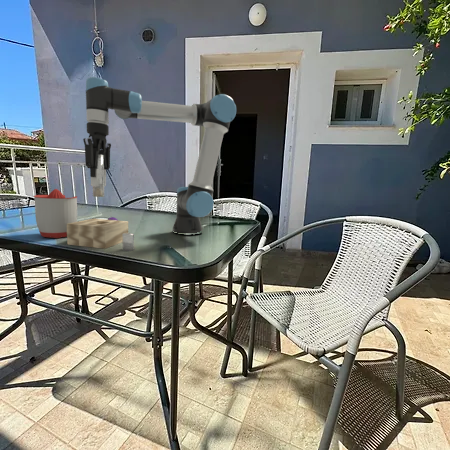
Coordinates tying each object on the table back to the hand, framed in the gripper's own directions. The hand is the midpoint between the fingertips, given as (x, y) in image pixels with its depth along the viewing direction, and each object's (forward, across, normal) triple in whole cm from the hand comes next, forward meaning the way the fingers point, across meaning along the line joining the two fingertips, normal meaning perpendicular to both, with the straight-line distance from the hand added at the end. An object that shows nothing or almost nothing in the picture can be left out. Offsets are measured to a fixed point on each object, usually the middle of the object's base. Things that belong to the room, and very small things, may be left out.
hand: (98, 185), depth 105 cm
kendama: (+23, -21, -12) cm, 33 cm away
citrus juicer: (+23, -4, -22) cm, 32 cm away
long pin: (+4, 0, 0) cm, 4 cm away
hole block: (+23, 0, 0) cm, 23 cm away
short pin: (+23, +6, +16) cm, 28 cm away
